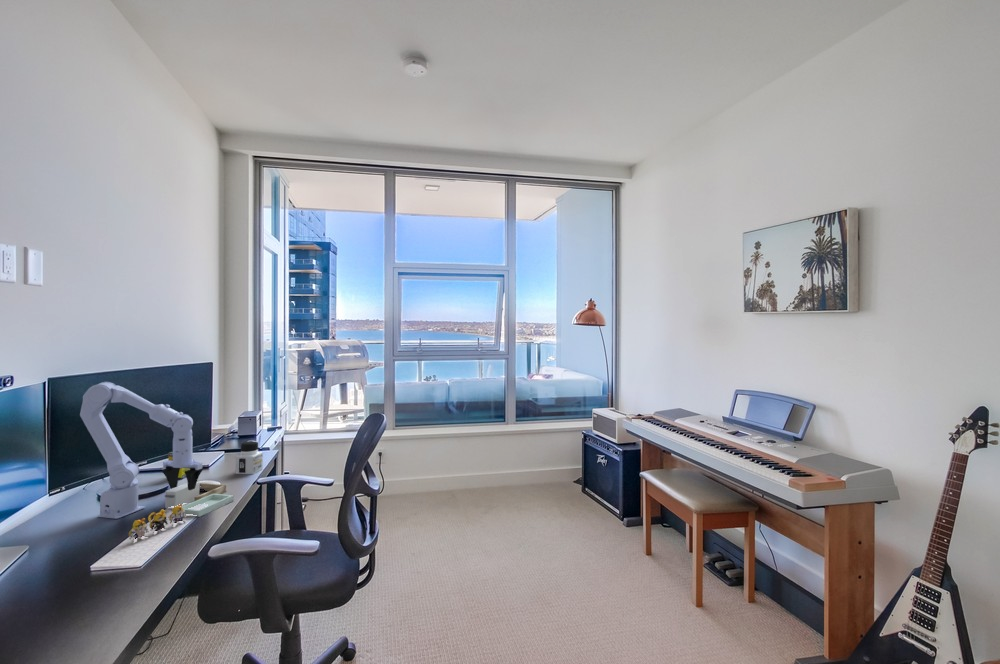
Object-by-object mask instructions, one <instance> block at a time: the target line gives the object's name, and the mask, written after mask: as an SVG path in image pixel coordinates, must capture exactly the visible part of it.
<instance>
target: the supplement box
mask: <svg viewBox="0 0 1000 664" xmlns="http://www.w3.org/2000/svg"><path fill="white" fill-rule="evenodd" d="M167 461H173V451H170V452H168V460H167ZM187 470H190V469H186V468H180V471H179V474H178V480H184V479H187V477H186V475H185V473H184V472H185V471H187Z"/></svg>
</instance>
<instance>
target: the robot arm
mask: <svg viewBox="0 0 1000 664" xmlns="http://www.w3.org/2000/svg"><path fill="white" fill-rule="evenodd" d="M109 403H125V404H127V405H129V406H131V407H134V408H136V409H138V410H140V411H142V412H145V413H147V414H148V415H149V419H150V420H152V421H154V422H156V423H158V424H161V425H162V426H165V427H167V428H171V431H172V432H173V438H172V452H173V461H168V460H166V461H163V462H162V467H163V468H164V469H162V470H161V471H162V474H163V475H164V476H165V477H166V480H167V483H168V486H169V488H170V489H172V488H175V487H177V486H178V483H179V479H178V474H179V471H180V468H186V469H190V470H187V471H185V472H184V473H185V475H186V480H187V481H186V483H188V490H192V489H195V486H196V483H197V482H198V479H199V477H200V475H201V473H202V472H203V469H204V468H203V462H198V461H195V459H193V448H194V447H193V429H192V428H193V424H194V420H193V418H192V417H191V416H190V415H189V414H184V412H182V411H180V412H179V411H177V410H175V409H173V408H171V405H170V404H168V403H166V404H163V403H160V404H155V403H152V402H151V401H149V400H147V399H146V398H143V396H140V395H139V394H136V393H135V392H133V391H131V390H129V389H127V388H125V387H123V386H122V385H121V386H120V385H116V384H115V383H113V382H110V381H102V382H100V383H98V384H94V385H91V386H90V387H89V388H88V389H87V390H86V391H85V392H84V394H83V396H82V402H81V406H80V407H81V408H80V413H79V416H80V418H81V420H82V422H83V424H84V426H85V427H86V429H87V431H88V433H89V434H90V436H91V437H92V439H93V442H94V443H95V445H96V447H97V448H98V451H99V452H100V454H101V455H102V457H103V459H104V460H105V462H106V466H107V467H106V468H107V472H108V474H109V484H110V487H109V489H108V490H105V491H103V492H102V493H101V495H100V497H99V499H100V501H99V514H98V515H97V518H98V517H99V518H107V519H120V518H122V517H125V516H128V515H131V514H133V513H135V512H139V511H141V510H144V509H145V508H146V506H145V505H143V506H142V505H139V480H138V479H137V478H136V477H137V476H138V475H139V473H140V467H139V465H138V464H137V463H135V462H133V461H132V460H131V458H130V457H129V455H127V454H125V452H124V450H123V448H122V446H121V445H120V443H119V440H118V439H117V437H116V436H115V433H114V432H113V430H112V429H111V427H110V425H109V423H108V421H107V420H106V417H105V416H104V414H103V412H104V410H105V409H106V408H107V405H108V404H109ZM170 489H169V490H170Z"/></svg>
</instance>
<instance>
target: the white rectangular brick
mask: <svg viewBox="0 0 1000 664" xmlns="http://www.w3.org/2000/svg"><path fill="white" fill-rule="evenodd" d="M200 483H201V482H199V481H197V483H196V486H195V489H192V490H188V482H185V483H182V484H181V485H177V487H175V488H172V489H167V490H165V493H164V494H165V495H164V497H165V503H164V504H165V507H164V508H165V509H168V507H171V506H177V505H179V504H183V503H188V504H190V503H192V502H194V497H196V496H199V495H200V490H199V488H200Z"/></svg>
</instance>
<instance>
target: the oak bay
mask: <svg viewBox="0 0 1000 664" xmlns="http://www.w3.org/2000/svg"><path fill="white" fill-rule="evenodd" d="M200 486H201V487H203V488H204V490H205V492H204V493H201V494H199V496H196V497H194V501H197V500H199V499H201V498H204V497H206V496H208V495H211V494H224V493H227V485H226V484H219V483H207V482H200ZM204 490H203V491H204ZM199 491H201V490H200V488H199ZM206 491H207V492H206ZM194 501H193V502H194Z"/></svg>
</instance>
